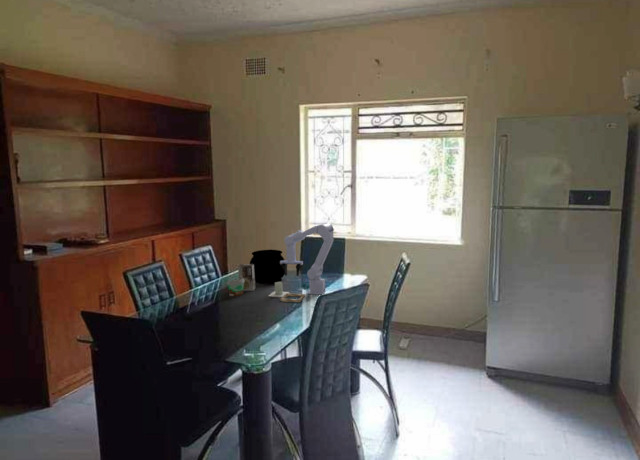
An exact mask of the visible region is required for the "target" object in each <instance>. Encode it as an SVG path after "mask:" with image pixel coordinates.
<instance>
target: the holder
mask: <svg viewBox="0 0 640 460" xmlns="http://www.w3.org/2000/svg"><path fill="white" fill-rule="evenodd" d="M287 297H298V299H295V298H287ZM305 297H306V294H305V293H290V292H289V293H287V294H285V295H284V296H283V297H280V299H279V301H280V302H286V303H300V302H301V301H303V300H304V299H305Z"/></svg>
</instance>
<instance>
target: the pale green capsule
mask: <svg viewBox="0 0 640 460" xmlns="http://www.w3.org/2000/svg"><path fill="white" fill-rule="evenodd" d="M274 291H275V295H282V294H283V292H284V291H283V281H280V282H275V283H274Z"/></svg>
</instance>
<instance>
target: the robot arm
mask: <svg viewBox="0 0 640 460" xmlns="http://www.w3.org/2000/svg"><path fill="white" fill-rule="evenodd" d="M334 231H335V228H334V227H333V225H332V224H331V223H330V222H326V223H322V224H318V225H314V226H312V227H309V228H308V229H305V230H300V229H299V230H296V232H295V233H291V234H290V235H286V236H285V237H284V238H283V239H284V244H285V247H286V248H285V249H286V260H285V259H284V260H285V261H280V264H282V265H281V267H282V268H283V270H284V273H285V275H284V277H285V276H286V277H287V275H288V265H295V269H296V270H295V271H296V277H299V276H300V270H301V268H302V265H303V264H304V260H297V255H296V251H297V249H296V244H297V243H299V242H301V241H303V240H305V239H306V237H307V236H309V235H312V234H314V233H315V234H318V235H319V236H320V237H321V238H322V240H323V243H322V245H321V247H320V249H319V251H318V254H317V255H316V259H315V261H314V263H313V264H312V265H311V267H310V269H308V270H307V273H306V276H307V278H308V281H309V291H308V292H307V294H308V295H321V294H322V295H324V293H326V292H327V291H326V280H325V279H324V278H322V275H323V270H324V263H325V261H326V260H327V256H329V255H328V254H329V252H330V249H331V248H332V246H333V243H334V241H335V240H334Z"/></svg>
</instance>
